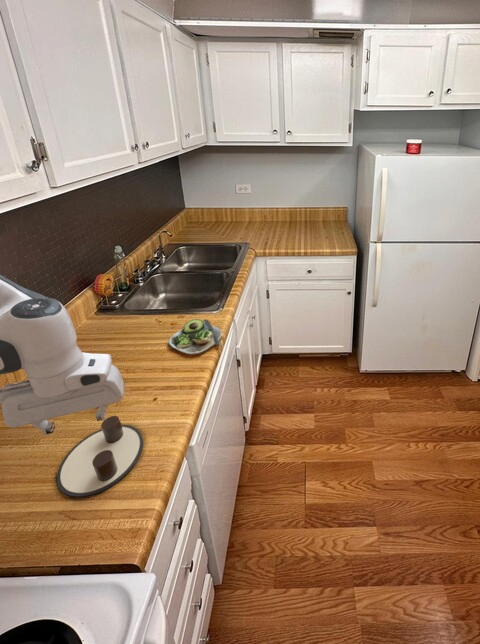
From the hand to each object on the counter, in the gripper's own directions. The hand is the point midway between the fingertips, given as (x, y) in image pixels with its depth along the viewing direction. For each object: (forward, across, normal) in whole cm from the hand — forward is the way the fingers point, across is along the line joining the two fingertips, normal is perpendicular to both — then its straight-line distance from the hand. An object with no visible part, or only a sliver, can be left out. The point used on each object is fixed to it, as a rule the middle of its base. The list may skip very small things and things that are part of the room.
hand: (76, 424), depth 71 cm
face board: (+17, +1, +4) cm, 17 cm away
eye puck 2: (+16, +3, -1) cm, 16 cm away
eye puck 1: (+16, +3, +9) cm, 19 cm away
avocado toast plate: (+16, +25, +44) cm, 53 cm away
